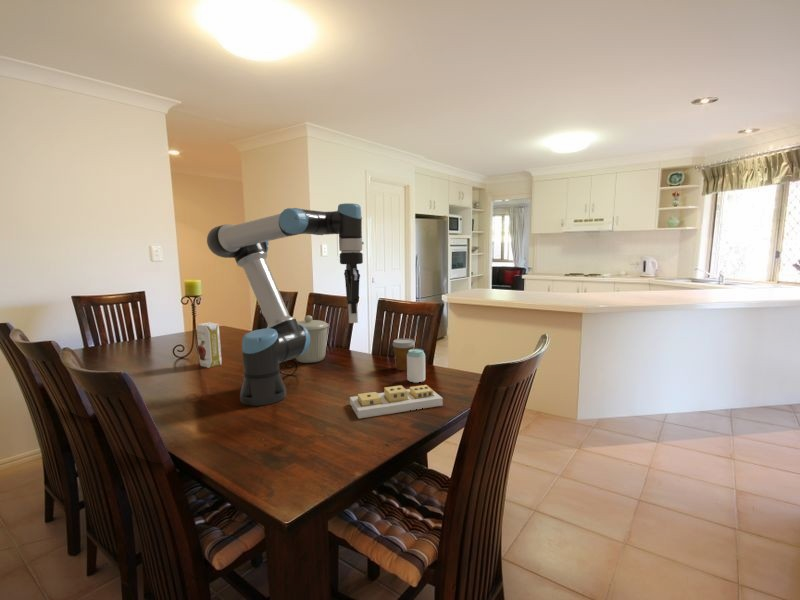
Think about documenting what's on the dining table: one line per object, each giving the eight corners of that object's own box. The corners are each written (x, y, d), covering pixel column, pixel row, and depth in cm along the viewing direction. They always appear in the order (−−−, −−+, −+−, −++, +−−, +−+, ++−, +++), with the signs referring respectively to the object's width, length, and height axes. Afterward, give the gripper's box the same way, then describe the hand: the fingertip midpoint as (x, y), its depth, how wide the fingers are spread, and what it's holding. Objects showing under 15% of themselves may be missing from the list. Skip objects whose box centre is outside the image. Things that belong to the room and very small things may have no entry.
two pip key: (390, 404, 128) (390, 393, 127) (384, 397, 133) (384, 387, 133) (407, 401, 129) (407, 390, 129) (401, 395, 135) (401, 384, 135)
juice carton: (213, 361, 186) (210, 321, 184) (224, 364, 181) (221, 323, 179) (197, 365, 180) (194, 324, 178) (207, 368, 175) (204, 326, 173)
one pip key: (362, 411, 125) (362, 400, 124) (358, 404, 131) (357, 393, 130) (381, 408, 127) (381, 397, 126) (375, 401, 132) (375, 391, 132)
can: (424, 384, 151) (423, 353, 150) (405, 383, 153) (405, 352, 151) (426, 378, 158) (426, 348, 156) (409, 377, 159) (408, 347, 158)
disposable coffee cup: (419, 367, 173) (418, 339, 171) (407, 373, 165) (407, 344, 163) (400, 363, 178) (400, 337, 177) (388, 369, 170) (387, 341, 169)
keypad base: (358, 418, 122) (358, 410, 121) (350, 404, 133) (349, 397, 132) (442, 405, 131) (442, 398, 130) (428, 393, 142) (428, 386, 142)
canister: (293, 356, 194) (291, 313, 191) (331, 354, 196) (329, 311, 193) (287, 366, 176) (284, 319, 174) (328, 365, 178) (327, 318, 175)
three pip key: (416, 403, 131) (416, 392, 130) (409, 396, 136) (409, 386, 136) (433, 400, 132) (433, 390, 132) (426, 394, 138) (426, 384, 138)
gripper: (367, 251, 127) (369, 325, 130) (357, 251, 139) (359, 318, 142) (343, 252, 125) (346, 326, 128) (336, 252, 137) (338, 320, 140)
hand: (353, 322), depth 135 cm, fingers closed
